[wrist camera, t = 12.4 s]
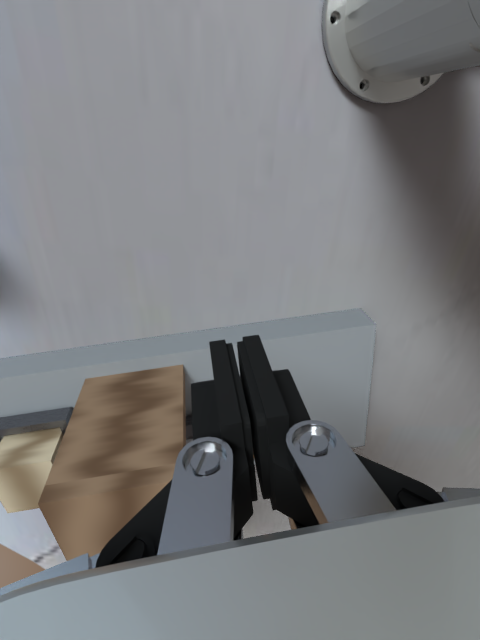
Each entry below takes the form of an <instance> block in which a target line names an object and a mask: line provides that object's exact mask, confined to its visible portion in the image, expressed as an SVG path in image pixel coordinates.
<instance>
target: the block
mask: <svg viewBox="0 0 480 640" xmlns="http://www.w3.org/2000/svg"><path fill="white" fill-rule="evenodd" d="M62 439H63V434H62V432H61V429H60V427H57V428H51V429H44V430H38V431H32V432H25V433H19V434H12V435H6V436H4V437H3V438H2V440H1V442H0V501H1V502H2V504H3V506H4V508H5V509H6V511H7V513H13V512H19V511H24V510H30V509H36V508H40V507H39V505H38V502H39V499H40V497H41V494H42V492H43V489H44V486H45V484H46V481H47V478H48V476H49V473H50V470H51V468H52V465H53V463H54V460H55V457H56V455H57V452H58V449H59V447H60V444H61V441H62Z"/></svg>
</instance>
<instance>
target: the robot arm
mask: <svg viewBox="0 0 480 640" xmlns="http://www.w3.org/2000/svg"><path fill="white" fill-rule="evenodd" d="M330 17H333V18H334V23H333V24H332V23H331V22H330ZM322 32H323V42H324V47H325V51H326V54H327V58H328V61H329V63H330V65H331V67H332V70H333V72H334V74H335V75H336V77H337V78H338V79H339V81H340V82H341V83H342V85H343V86H344V87H345V88H347V89H348V90H349V91H350V92H351V93H352V94H354V95H355V96H357V97H359V98H361V99H363V100H366V101H369V102H373V103H394V102H401V101H404V100H407V99H410V98H413V97H414V96H416V95H418V94H420V93H422V92H423V91H425V90H426V89H428V88H429V87H430V86H431V85H433V84H434V83H435V82H436V81H437V80H438V79H439V78H440V77H441V76H442V75H443V74H444V73H445V72H449V71H454V70H459V69H464V68H469V67H474V66H479V65H480V0H324V4H323V15H322ZM420 79H422V81H421V83H420ZM360 83H362V89H360V86H359V85H360ZM209 345H210V353H211V361H212V369H213V377H214V380H211V381H205V382H198V383H191V405H192V433H193V441H191V442H190V443H188V444H187V445H185V446H184V447H183V448H182V450H181V451H180V452H179V454H178V457H177V459H176V464H175V469H174V474H173V479H172V480H171V481H170V482H169V483H168V484H167V485H166V486H165V487H164V488H163V489H162V490H161V491H160V492H159V493H158V494H157V495H156V496H155V497H153V498H152V499H151V500H150V501H149V502H148V503H147V504H146V505H145V506H144V507H143V508H142V509H141V510H140V511H139V512H138V513H137V514H136V515H135V516H134V517H133V518H132V519H131V520H130V521H129V522H128V523H127V524H126V525H125V526H124V527H123V528H122V529H121V530H120V531H119V532H118V533H117V534H116V535H115V536H113V537H112V538H111V539H110V540H109V542H108V543H107V544H106V545H105V546H104V548H103V549H102V550H101V553H99V554H96V555H94V556H91V557H90V556H89V554H88V553H86V554H83V555H81V556H79V557H76V558H74V559H71V560H69V561H66V562H64V563H61V564H59V565H56V566H54V567H51V568H49V569H46V570H44V571H42V572H39V573H37V574H34V575H32V576H29V577H27V578H24V579H22V580H20V581H17V582H14V583H12V584H10V585H7V586H5V587H2V588H0V640H480V489H474V488H444V487H443V490H442V492H436V491H435V490H433V489H432V488H430V487H429V486H427V485H425V484H423V483H421V482H419V481H417V480H414V479H412V478H410V477H407V476H405V475H403V474H401V473H398V472H396V471H394V470H392V469H389V468H387V467H385V466H382V465H380V464H378V463H376V462H373V461H371V460H369V459H366V458H364V457H362V456H360V455H357V454H355V453H354V452H353V451H352V449H351V448H350V446H349V445H348V444H347V442H346V441H345V440H344V438H343V437H342V436H341V434H340V433H339V432H338V431H337V430H336V429H335V428H334V427H333V426H331V425H329V424H328V423H325V422H322V421H317V420H311V418H310V416H309V414H308V412H307V409H306V407H305V405H304V403H303V400H302V398H301V396H300V393H299V391H298V389H297V387H296V384H295V382H294V380H293V377H292V375H291V373H290V371H289V370H288V369H284V370H277V371H272V369H271V366H270V363H269V361H268V358H267V355H266V352H265V350H264V347H263V344H262V342H261V339H260V336H259V335H252V336H245V337H243V341H240V342H237V349H238V359H239V369H240V375H239V371H238V366H237V362H236V358H235V353H234V349H233V345H232V343H226V341H225V339H224V340H217V341H210V342H209ZM253 455H254V456H253ZM254 460H255V464H256V469H257V473H258V478H259V483H260V487H261V492H262V496H263V499H269V498H270V500H271V505H272V509H273V510H278V511H280V512H281V513H283V514H285V515H286V516H288V517H289V522H290V526H291V529H292V530H288V531H283V532H277V533H272V534H267V535H261V536H256V537H251V538H245V539H243V530H242V528H243V527H244V525H245V524H246V523H247V521H248V520H249V519H250V517H251V516H252V515H253V506H252V501H257V500H258V499H257V488H256V477H255V467H254Z"/></svg>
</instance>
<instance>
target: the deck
mask: <svg viewBox="0 0 480 640" xmlns="http://www.w3.org/2000/svg"><path fill="white" fill-rule="evenodd" d="M375 334H376V323H375V322H374V321H373V320H372V319H371V318H370V317H369V316H368V315H367V314H366V313H365V312H364V311H363V310H362V309H361V308H359V309H352V310H345V311H338V312H331V313H323V314H316V315H309V316H302V317H295V318H288V319H281V320H273V321H266V322H259V323H252V324H245V325H238V326H230V327H223V328H216V329H209V330H202V331H195V332H188V333H180V334H173V335H166V336H159V337H152V338H145V339H138V340H130V341H123V342H116V343H109V344H102V345H95V346H88V347H80V348H73V349H66V350H59V351H52V352H45V353H38V354H30V355H23V356H16V357H9V358H2V359H0V417H7V416H13V415H20V414H26V413H33V412H39V411H46V410H53V409H59V408H66V407H71V409H72V412H73V410H74V407H75V405H76V402H77V399H78V397H79V394H80V391H81V389H82V386H83V383H84V381H85V379H87V378H94V377H101V376H108V375H114V374H121V373H128V372H135V371H142V370H149V369H155V368H162V367H169V366H176V365H183V368H184V373H185V406H186V416H191V415H192V405H191V383H198V382H205V381H211V380H214V377H213V369H212V361H211V353H210V345H209V342H210V341H217V340H224V339H225V341H226V343H232V345H233V349H234V353H235V358H236V362H237V366H238V371H239V375H240V369H239V359H238V349H237V342H240V341H243V337H245V336H252V335H259V336H260V339H261V342H262V344H263V347H264V350H265V352H266V355H267V358H268V361H269V363H270V366H271V369H272V371H277V370H284V369H288V370H289V371H290V373H291V375H292V377H293V380H294V382H295V384H296V387H297V389H298V391H299V393H300V396H301V398H302V400H303V403H304V405H305V407H306V409H307V412H308V414H309V416H310V418H311V420H317V421H322V422H325V423H328V424H329V425H331V426H333V427H334V428H335V429H336V430H337V431H338V432H339V433H340V434H341V436H342V437H343V438H344V440H345V441H346V442H347V444H348V445H349V446H350V448H354V447H360V446H365V436H366V426H367V416H368V406H369V395H370V385H371V375H372V365H373V355H374V345H375ZM3 437H4V436H0V441H1V440H2V438H3ZM191 441H193V439H188V440H186V445H187V444H188V443H190V442H191ZM254 465H255V460H254ZM0 502H1V501H0ZM1 503H2V502H1ZM2 505H3V504H2ZM3 507H4V506H3Z"/></svg>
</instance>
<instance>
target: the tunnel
mask: <svg viewBox="0 0 480 640" xmlns="http://www.w3.org/2000/svg"><path fill="white" fill-rule="evenodd" d="M185 445H186V406H185V373H184V368H183V365H176V366H169V367H162V368H155V369H149V370H142V371H135V372H128V373H121V374H114V375H108V376H101V377H94V378H87V379H85V381H84V383H83V386H82V389H81V391H80V394H79V397H78V399H77V402H76V405H75V407H74V410H73V412H72V415H71V418H70V420H69V423H68V426H67V428H66V431H65V434H64V436H63V439H62V441H61V444H60V447H59V449H58V452H57V455H56V457H55V460H54V463H53V465H52V468H51V470H50V473H49V476H48V478H47V481H46V484H45V486H44V489H43V492H42V494H41V497H40V499H39V502H38V505H39V507H40V509H41V511H42V513H43V515H44V517H45V519H46V521H47V523H48V525H49V527H50V529H51V531H52V533H53V535H54V537H55V539H56V541H57V543H58V544H59V546H60V548H61V550H62V552H63V554H64V556H65V558H66V560H67V561H69V560H71V559H74V558H76V557H79V556H81V555H83V554H86V553H88V554H89V556H90V557H91V556H94V555H96V554H99V553H101V550H102V549H103V548H104V546H105V545H106V544H107V543H108V542H109V540H110V539H111V538H112V537H113V536H115V535H116V534H117V533H118V532H119V531H120V530H121V529H122V528H123V527H124V526H125V525H126V524H127V523H128V522H129V521H130V520H131V519H132V518H133V517H134V516H135V515H136V514H137V513H138V512H139V511H140V510H141V509H142V508H143V507H144V506H145V505H146V504H147V503H148V502H149V501H150V500H151V499H152V498H153V497H155V496H156V495H157V494H158V493H159V492H160V491H161V490H162V489H163V488H164V487H165V486H166V485H167V484H168V483H169V482H170V481H171V480H172V479H173V474H174V469H175V464H176V459H177V457H178V454H179V452H180V451H181V450H182V448H183V447H184V446H185Z"/></svg>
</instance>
